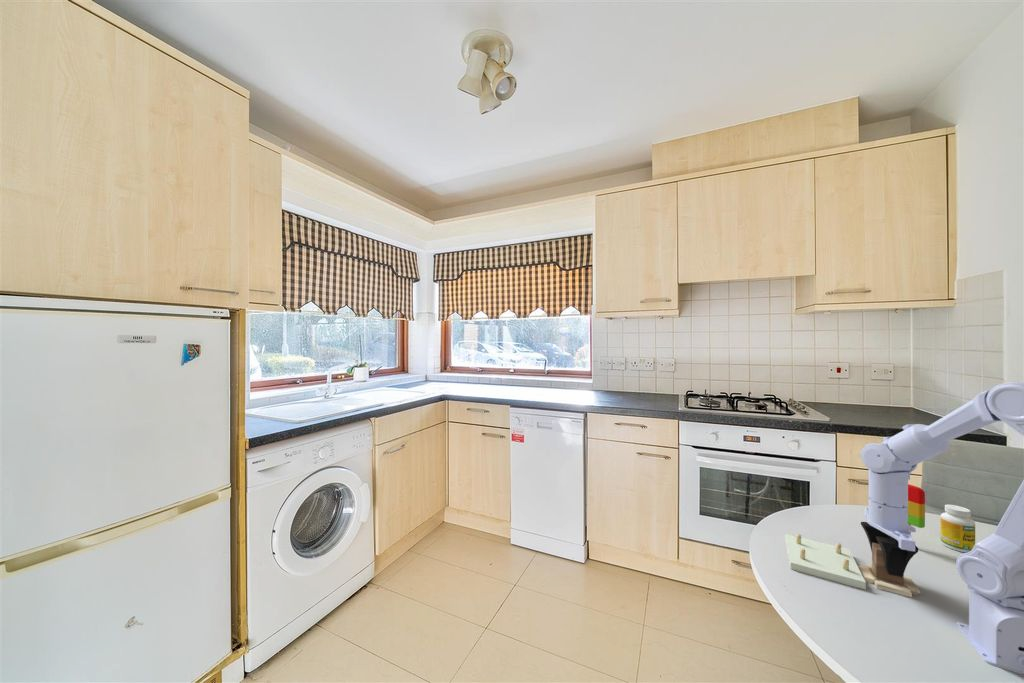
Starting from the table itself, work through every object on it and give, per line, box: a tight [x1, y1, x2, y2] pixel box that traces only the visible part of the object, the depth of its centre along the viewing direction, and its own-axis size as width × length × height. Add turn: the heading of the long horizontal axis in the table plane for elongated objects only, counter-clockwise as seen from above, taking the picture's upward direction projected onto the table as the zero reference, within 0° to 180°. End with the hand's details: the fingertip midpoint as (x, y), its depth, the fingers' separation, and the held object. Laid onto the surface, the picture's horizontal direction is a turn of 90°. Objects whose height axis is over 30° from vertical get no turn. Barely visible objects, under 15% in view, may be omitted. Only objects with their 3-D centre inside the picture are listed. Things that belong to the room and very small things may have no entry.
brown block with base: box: [857, 542, 921, 598], centre depth 75 cm, size 8×8×7 cm
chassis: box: [784, 533, 867, 591], centre depth 82 cm, size 14×12×4 cm
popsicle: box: [908, 483, 926, 534], centre depth 89 cm, size 6×2×15 cm, turn 16°
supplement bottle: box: [940, 504, 976, 553], centre depth 88 cm, size 5×5×10 cm
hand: (887, 567), depth 75 cm, fingers open, 5 cm apart
